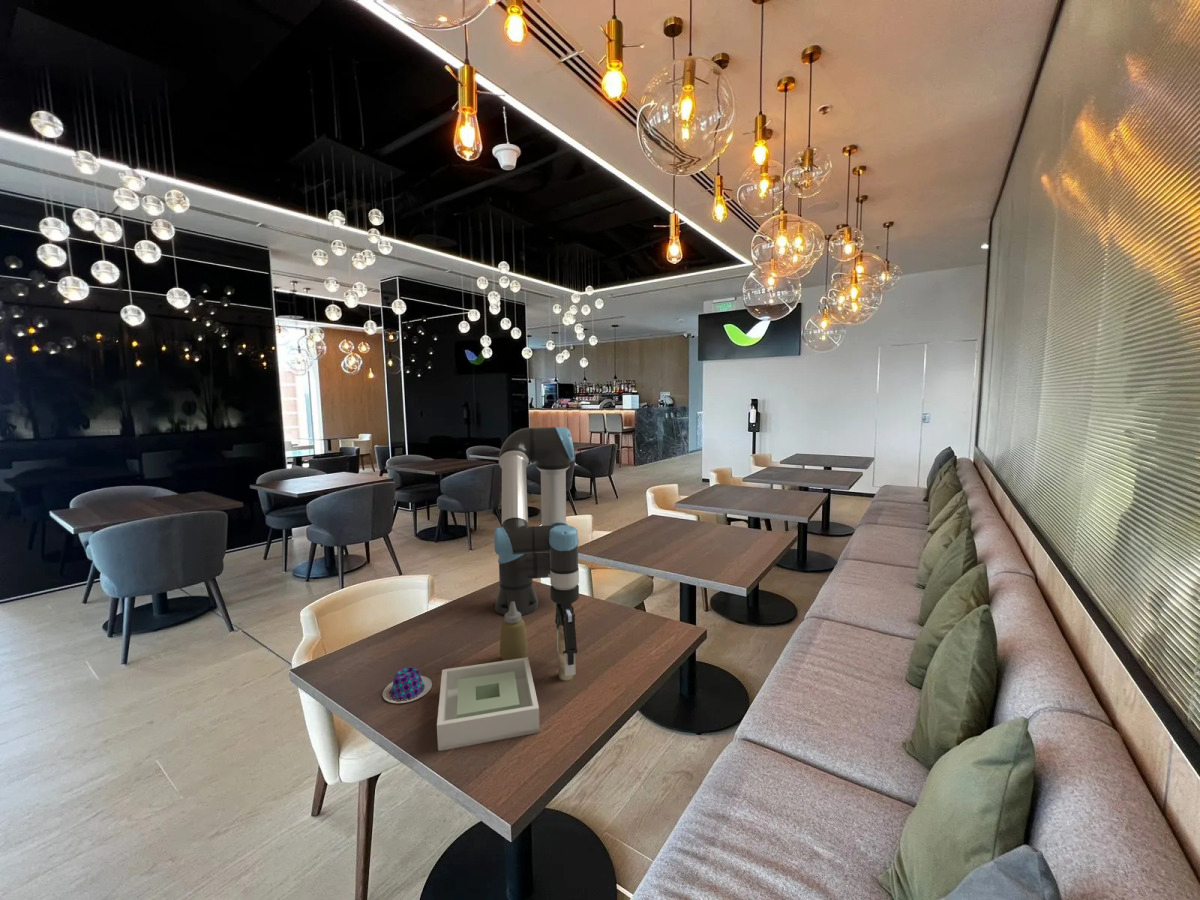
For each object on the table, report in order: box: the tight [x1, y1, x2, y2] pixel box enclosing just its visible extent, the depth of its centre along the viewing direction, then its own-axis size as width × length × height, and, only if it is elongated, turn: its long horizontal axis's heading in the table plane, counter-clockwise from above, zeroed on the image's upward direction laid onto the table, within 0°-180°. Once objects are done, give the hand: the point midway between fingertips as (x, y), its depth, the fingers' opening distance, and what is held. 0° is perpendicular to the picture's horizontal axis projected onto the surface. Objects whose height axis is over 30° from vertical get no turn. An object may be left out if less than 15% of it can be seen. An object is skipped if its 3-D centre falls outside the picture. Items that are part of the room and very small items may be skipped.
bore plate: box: [457, 671, 520, 719], centre depth 120 cm, size 14×14×4 cm
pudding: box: [382, 666, 433, 704], centre depth 128 cm, size 12×12×5 cm
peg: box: [557, 625, 575, 682], centre depth 133 cm, size 4×4×14 cm
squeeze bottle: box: [499, 601, 529, 661], centre depth 140 cm, size 8×8×18 cm
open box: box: [436, 656, 541, 752], centre depth 120 cm, size 22×22×6 cm
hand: (566, 662), depth 134 cm, fingers open, 11 cm apart
